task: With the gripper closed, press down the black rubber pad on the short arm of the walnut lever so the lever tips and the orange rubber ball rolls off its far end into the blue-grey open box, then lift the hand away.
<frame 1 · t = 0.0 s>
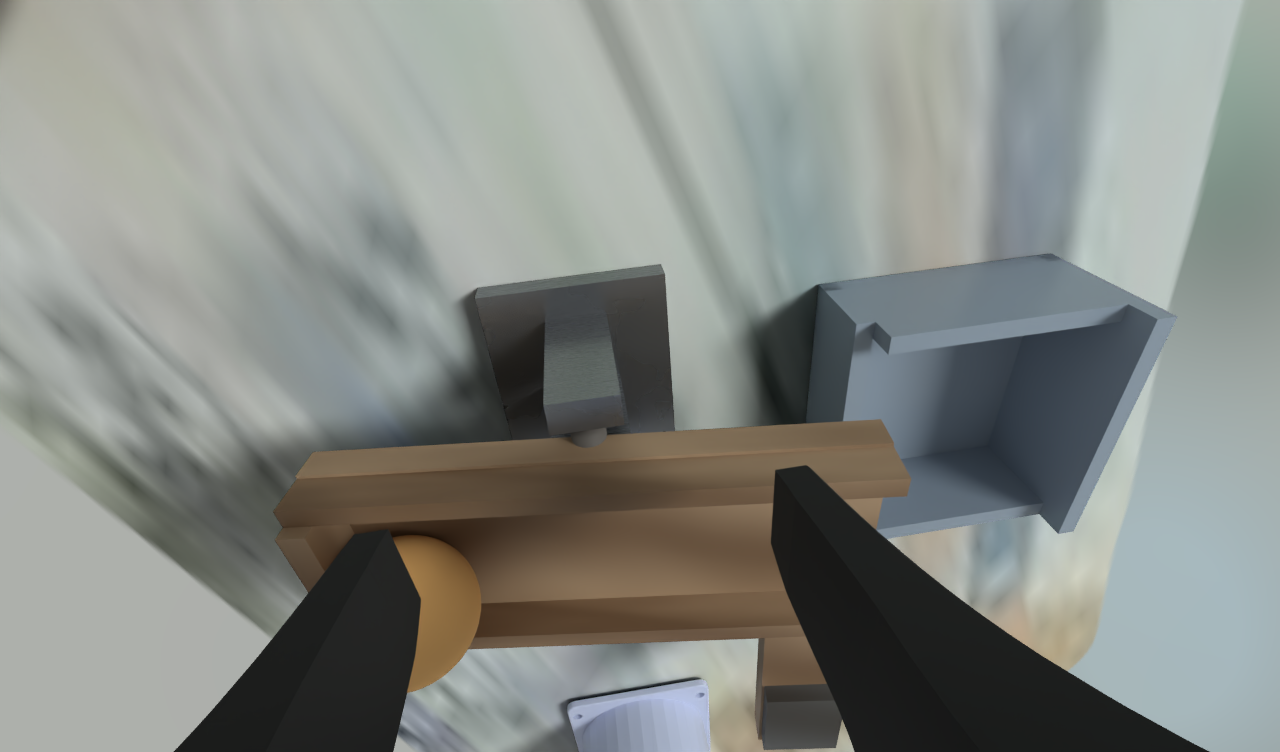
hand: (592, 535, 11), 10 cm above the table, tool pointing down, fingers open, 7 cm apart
lever: (616, 631, 19), point 6 cm above the table, hinge at -8.0°, touching ball
blue-grey open box: (913, 374, 23), on the table
lever stand: (593, 421, 22), on the table
ball: (405, 611, 16), point 7 cm above the table, tilted 6°, touching lever
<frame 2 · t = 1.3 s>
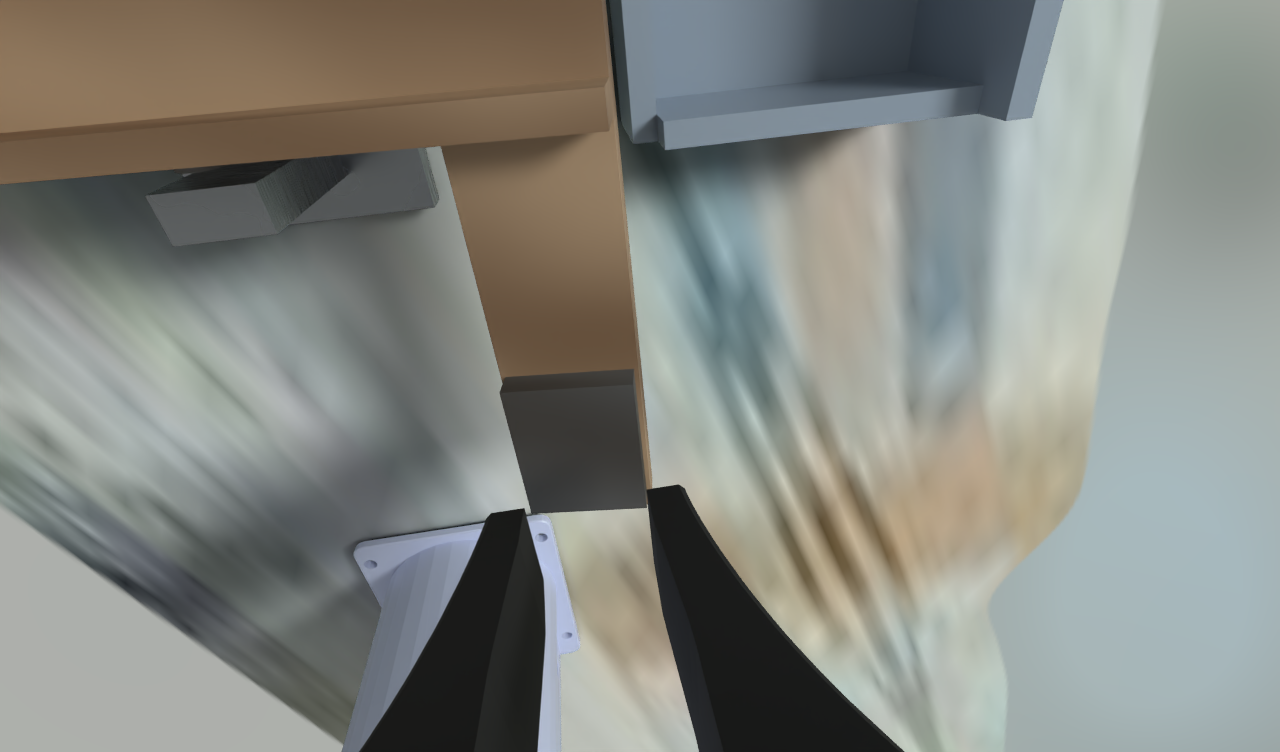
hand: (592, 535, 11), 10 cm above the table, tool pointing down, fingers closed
lever: (189, 222, 11), point 6 cm above the table, hinge at -8.0°, touching ball
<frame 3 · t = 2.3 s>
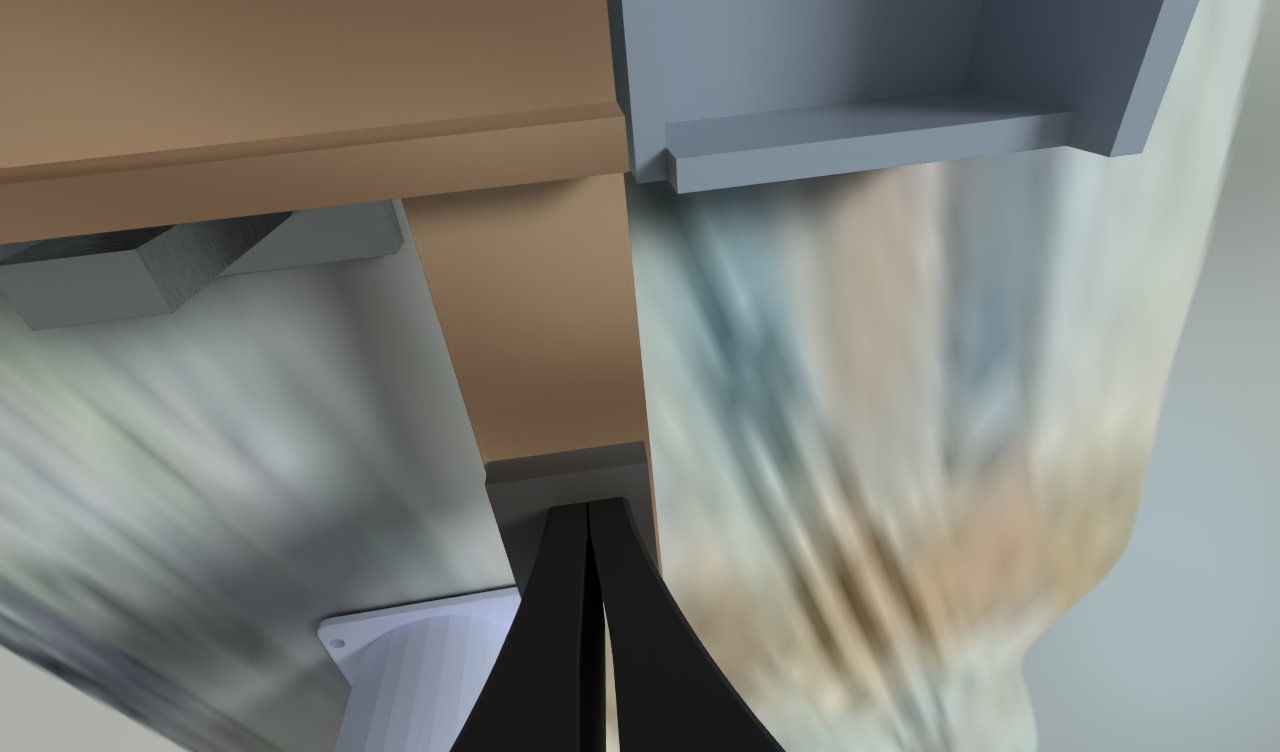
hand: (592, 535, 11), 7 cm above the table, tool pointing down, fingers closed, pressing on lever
lever: (51, 304, 8), point 6 cm above the table, hinge at -1.2°, touching ball, gripper
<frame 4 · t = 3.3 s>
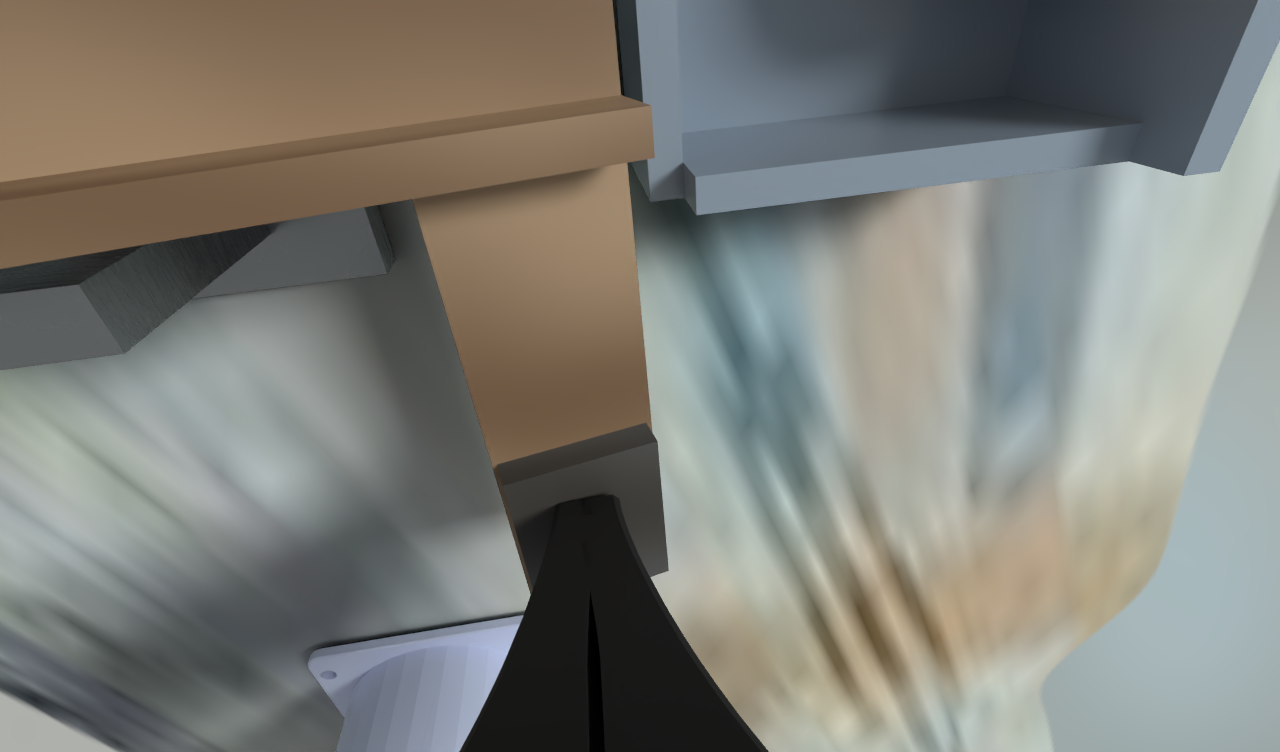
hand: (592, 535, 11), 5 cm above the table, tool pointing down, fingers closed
lever: (1, 345, 7), point 6 cm above the table, hinge at 11.6°, touching gripper
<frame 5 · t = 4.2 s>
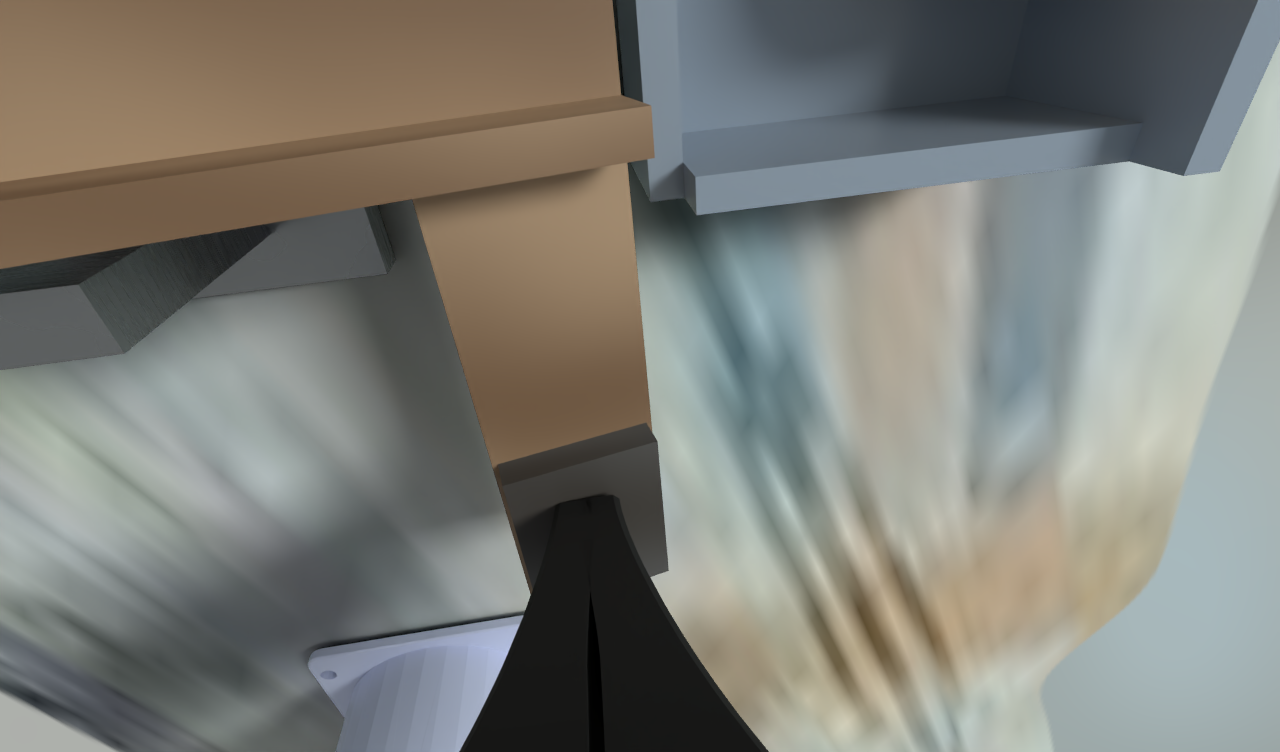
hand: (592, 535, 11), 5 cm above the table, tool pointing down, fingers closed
lever: (1, 345, 7), point 6 cm above the table, hinge at 11.6°, touching gripper
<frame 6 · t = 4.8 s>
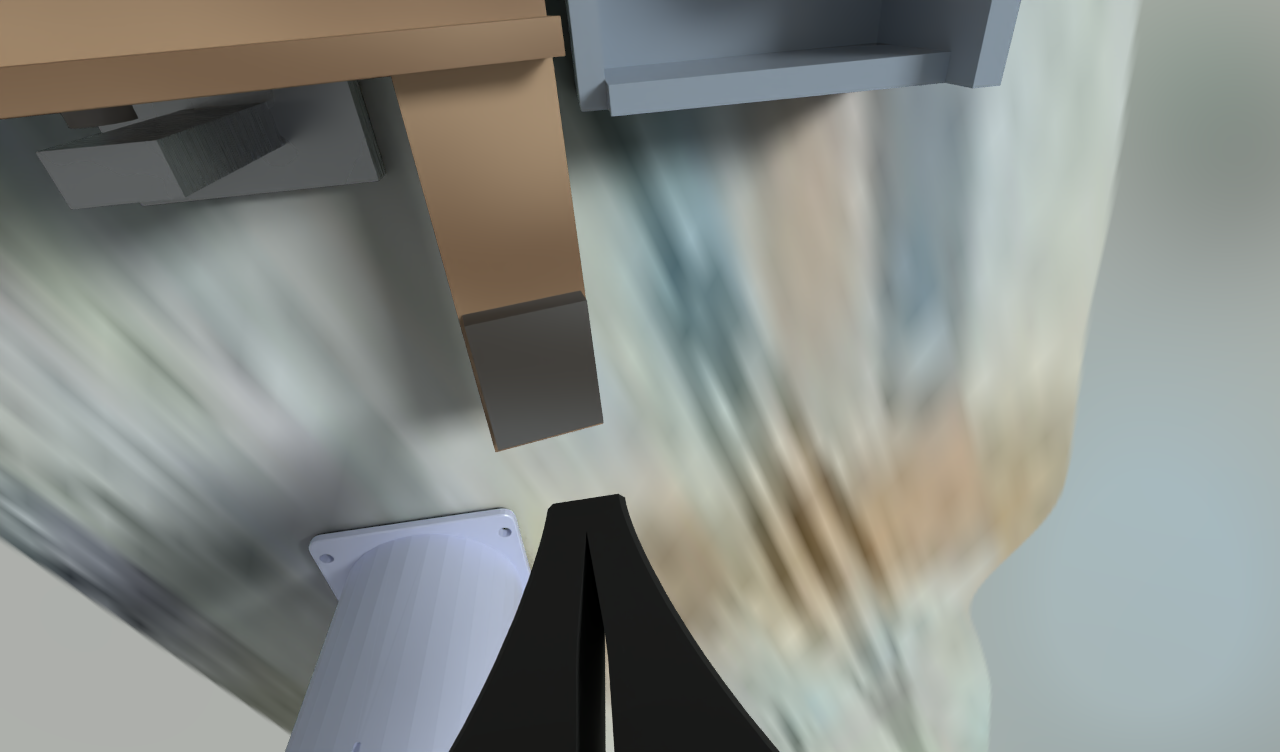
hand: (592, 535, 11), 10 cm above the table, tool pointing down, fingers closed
lever: (104, 179, 10), point 6 cm above the table, hinge at 11.6°
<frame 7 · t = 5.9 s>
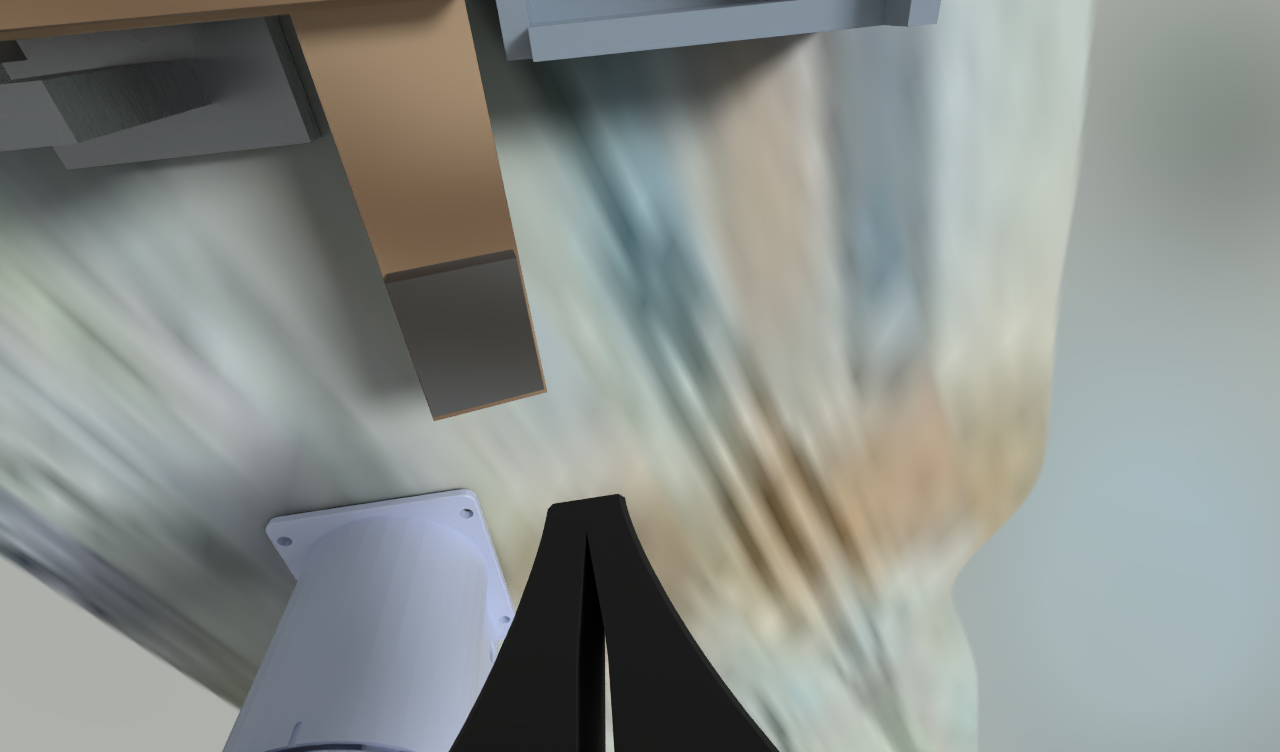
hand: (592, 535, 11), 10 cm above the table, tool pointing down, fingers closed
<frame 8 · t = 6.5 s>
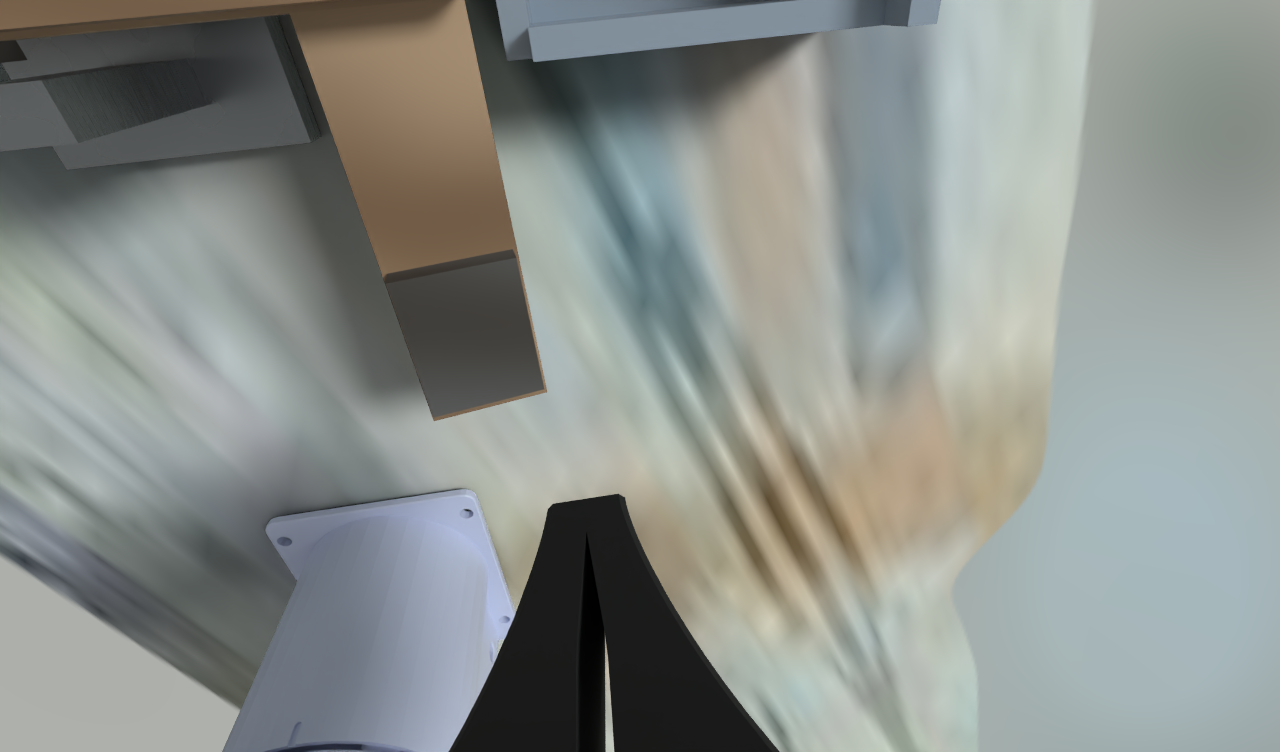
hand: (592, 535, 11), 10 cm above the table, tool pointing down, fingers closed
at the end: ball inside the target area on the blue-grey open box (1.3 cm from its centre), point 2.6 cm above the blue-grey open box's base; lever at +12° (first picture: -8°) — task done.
